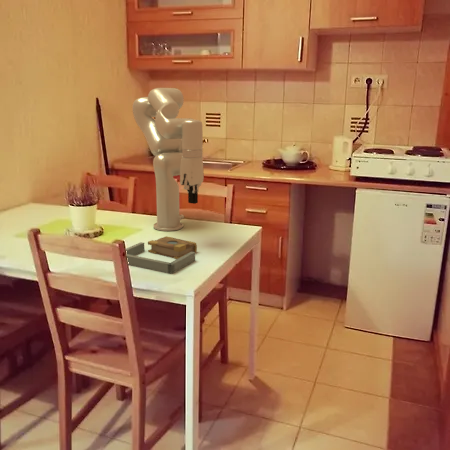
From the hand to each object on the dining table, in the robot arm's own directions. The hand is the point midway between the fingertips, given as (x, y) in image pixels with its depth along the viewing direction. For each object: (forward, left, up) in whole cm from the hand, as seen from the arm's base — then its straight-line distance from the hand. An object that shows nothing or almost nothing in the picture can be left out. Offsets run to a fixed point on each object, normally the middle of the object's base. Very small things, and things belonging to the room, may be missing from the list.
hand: (193, 202), depth 183 cm
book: (+13, -1, -16) cm, 21 cm away
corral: (+24, 0, -16) cm, 28 cm away
